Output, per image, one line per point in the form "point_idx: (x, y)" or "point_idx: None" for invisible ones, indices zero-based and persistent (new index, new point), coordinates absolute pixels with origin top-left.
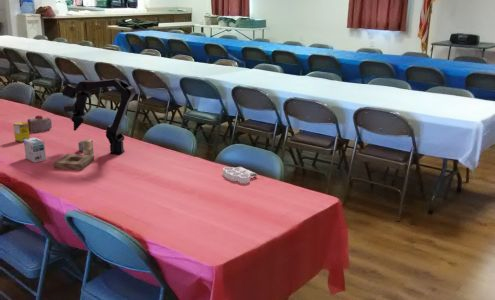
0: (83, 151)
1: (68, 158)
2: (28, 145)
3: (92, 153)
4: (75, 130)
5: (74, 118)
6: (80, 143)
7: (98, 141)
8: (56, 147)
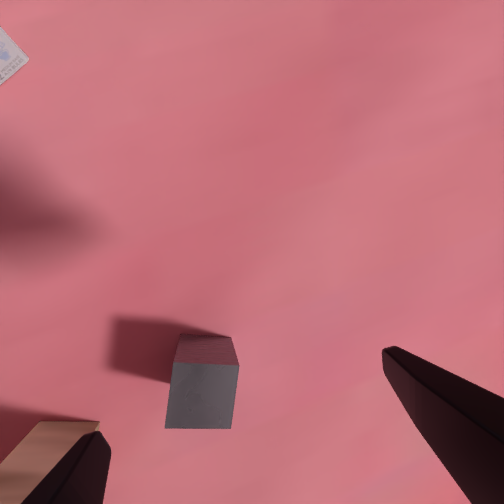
0: (8, 456)
1: None
2: None
3: None
4: (94, 460)
5: None
6: (171, 380)
7: None
8: (257, 147)
